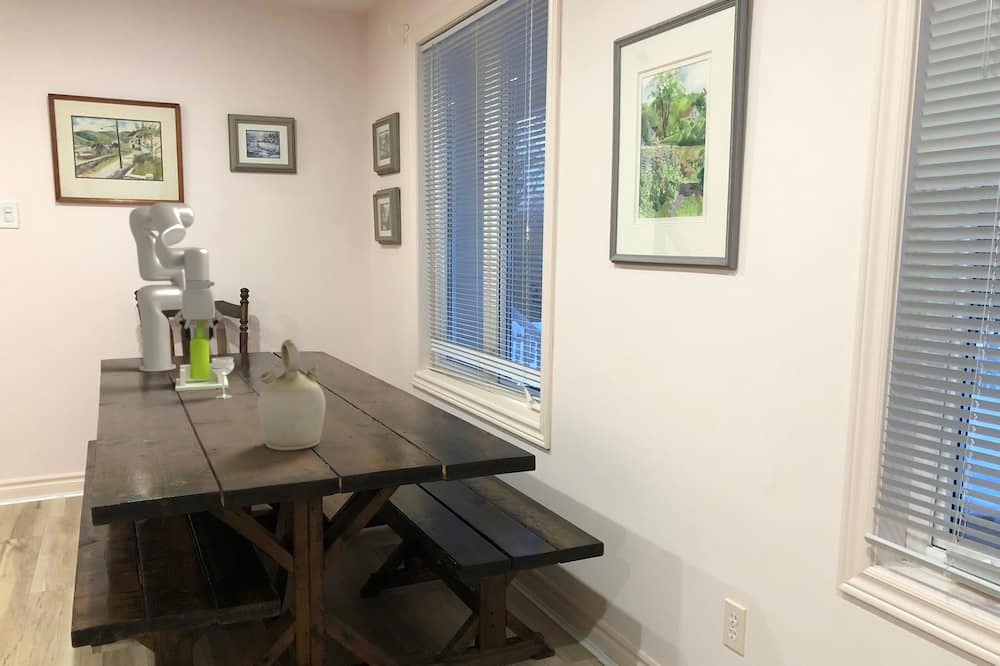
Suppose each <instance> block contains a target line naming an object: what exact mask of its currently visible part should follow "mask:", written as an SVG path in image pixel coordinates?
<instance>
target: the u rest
mask: <svg viewBox="0 0 1000 666" xmlns="http://www.w3.org/2000/svg"><path fill="white" fill-rule="evenodd" d="M174 388H175V392H183V391H184V392H185V391H186V392H187V391H199V390H201V391H202V390H213V389H214V390H215V389H216V388H218V389H223V386H222V377H221V376H220V375H218V374H216V373H215V372H214V371H213V370H212V368H211V363H209V378H206V379H192V378H190V364H180V365H179V378H176V379H175V387H174ZM228 388H229V381H228V377H227V375H226V376H225V377H224V389H228Z"/></svg>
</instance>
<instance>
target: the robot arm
mask: <svg viewBox="0 0 1000 666" xmlns="http://www.w3.org/2000/svg"><path fill="white" fill-rule="evenodd" d="M194 221H195V214H194V210H193V208H192V207H191V205H189V204H188V203H184V202H165V201H164V202H163V201H162V202H160V201H159V202H156V203H154V204H153V205H151V206H149V207H148V206H146V207H145V206H143V207H136V208H133V209H132V210H131V211H130V213H129V221H128V224H129V228H130V232H131V234H132V236H133V239H134V243H135V245H136V254H137V265H138V271H139V276H140V278H141V280H143V281H146V282H170V283H171V284H150V285H149V284H148V285H145V286H141V287H140V288H138V290H137V293H136V299H137V301H136V302H137V305H138V309H139V314H140V315H139V316H140V326H141V328H140V329H141V339H142V341H141V342H142V343H141V344H142V361H143V362H142V363H143V364H142V365H140V366H139V367H138V370H139V371H140V372H146V373H147V372H154V373H155V372H164V371H171V370H175V369H176V368H177V365H176V364H173V363H172V353H171V352H172V351H171V332H170V331H171V330H170V322H169V321H170V320H169V319H168V318H167V316H166V315H165V314H164V313H163V312H162V311H171V310H172V311H174V310H179V311H178V312H177V313H176V315H175V316H174V317H173V320H175V321H176V322H177V323H178V324H179V325H180V326H182V327H183V328H184V330H185V331H184V332H185V339H187V341H189V342H190V339H191V328H190V324H191V321H194V320H211V321H210V322H208V321H207V322H208V324H209V325H208V339H209V341H212V338H214V327H215V326H217V325H218V323H219V322H221V320H223V319H224V315H223V314H222V313H221V312H220V311H219V310H218V309H217V308H216V306H215V297H214V291H213V289H211V287H215V282H214V281H211V280H210V260H209V258H210V257H209V251H208V249H207V248H202V247H196V246H195V247H194V246H193V247H189V246H188V247H187V246H174V245H176V244H179V243H180V242H182V241H184V240H183V239H185V237H186V235H187V229H188V228H190V227H191V226H192V225H193V223H194ZM155 231H156V232H157V233H158V234H157V235H156V233H154V232H155ZM181 316H182V319H183V320H182V319H181V318H180V317H181ZM216 316H217V317H216ZM215 317H216V319H214V318H215ZM213 319H214V320H213ZM184 320H185V321H184Z"/></svg>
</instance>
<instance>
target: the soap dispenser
mask: <svg viewBox="0 0 1000 666" xmlns="http://www.w3.org/2000/svg"><path fill="white" fill-rule="evenodd" d="M211 320H212V319H211ZM211 320H193V321H194V322H195V321H196V327H194V328H193V329H194V330H193V333H194V334H193V335H194V336H193V338H190V341H189V343H190V345H189V349H190V351H189V353H190V354H189V355H190V357H189V358H190V359H189V361H190V364H189V365H190V378H192V379H206V378H209V364H210V340H209V337H208V338H207V337H206V328H205V327H203V322H210V321H211Z"/></svg>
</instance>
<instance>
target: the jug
mask: <svg viewBox="0 0 1000 666" xmlns="http://www.w3.org/2000/svg"><path fill="white" fill-rule="evenodd" d="M280 356H281V357H280V360H281V363H282V366H283V369H284V371H283V373H282V374H281V375H279V376H278V377H276V375H275V370H274V369H273V368H271V369H270V368H269V369H267V370H265V371H264V372H262V373H261V374H260V375H259V377H258V380H259V382H262V383H264V384H265V386H264V387H263V388H262V390H261V392H260V395H259V397H258V402H257V411H258V412H257V413H258V417H259V421H260V425H261V428H262V429H261V430H262V434H263V438H264V440H265V441H264V442H265V445H266V447H267V448H268V449H270V450H275V451H284V452H285V451H288V452H291V451H298V450H300V451H301V450H305V449H310V448H312V447H314V446H318V445H319V444H320V438H321V436H322V430H323V425H324V421H325V413H326V406H327V405H326V397H325V394H324V392H323V390H322V388H321V386H320V385H319V384H318V383H317V382H316V380H317V379H318V378H319V370H320V368H319V367H318V366H316V365H315V366H313V367H312V368H311V369H308V370H306V371H307V372H306V373H307V374H301V373H300V372H299V368H300V358H301V357H300V352H299V348H298V345H297V344H296V342H295V341H294V340H292V339H286V340H284V341H283V342H282V344H281V347H280Z"/></svg>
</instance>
